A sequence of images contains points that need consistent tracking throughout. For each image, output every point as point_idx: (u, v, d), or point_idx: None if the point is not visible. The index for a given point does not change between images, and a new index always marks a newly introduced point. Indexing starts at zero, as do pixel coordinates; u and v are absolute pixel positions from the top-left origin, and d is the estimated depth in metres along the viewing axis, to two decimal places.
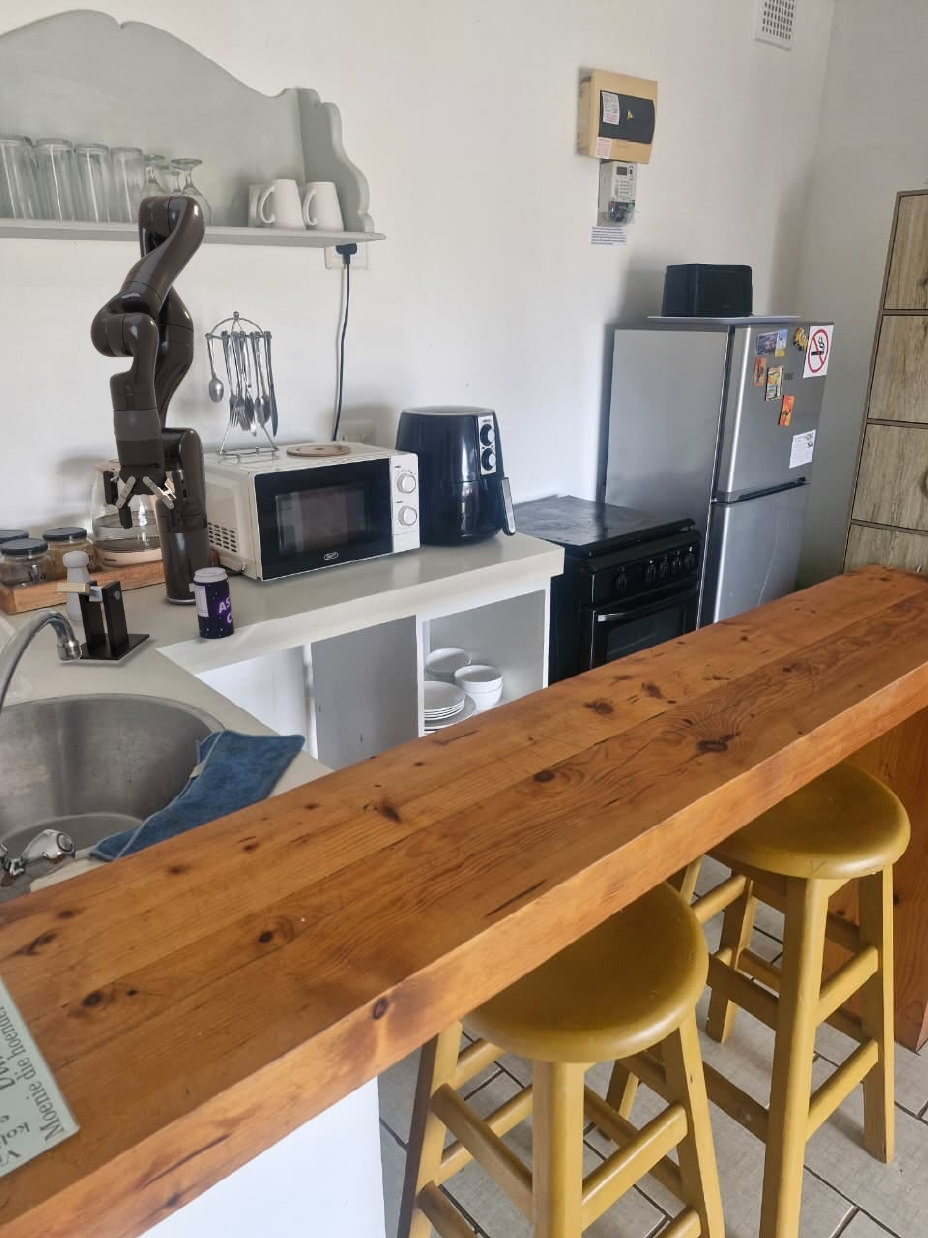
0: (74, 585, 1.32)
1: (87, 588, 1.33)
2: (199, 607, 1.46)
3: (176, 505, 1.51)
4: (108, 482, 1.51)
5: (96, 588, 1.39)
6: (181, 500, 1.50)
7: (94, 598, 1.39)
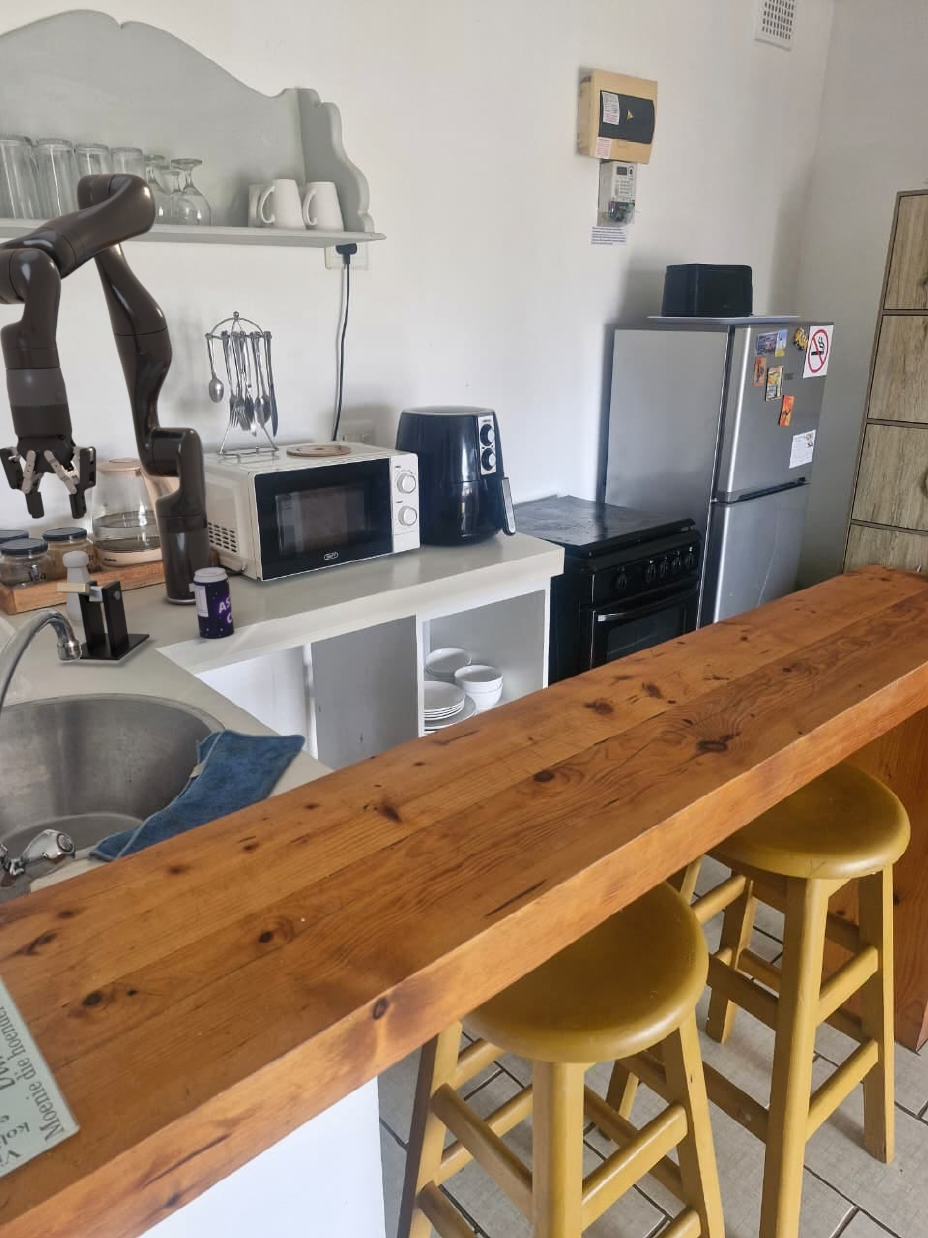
0: (74, 585, 1.32)
1: (87, 588, 1.33)
2: (199, 607, 1.46)
3: (80, 490, 1.26)
4: (7, 462, 1.25)
5: (96, 588, 1.39)
6: (85, 484, 1.25)
7: (94, 598, 1.39)
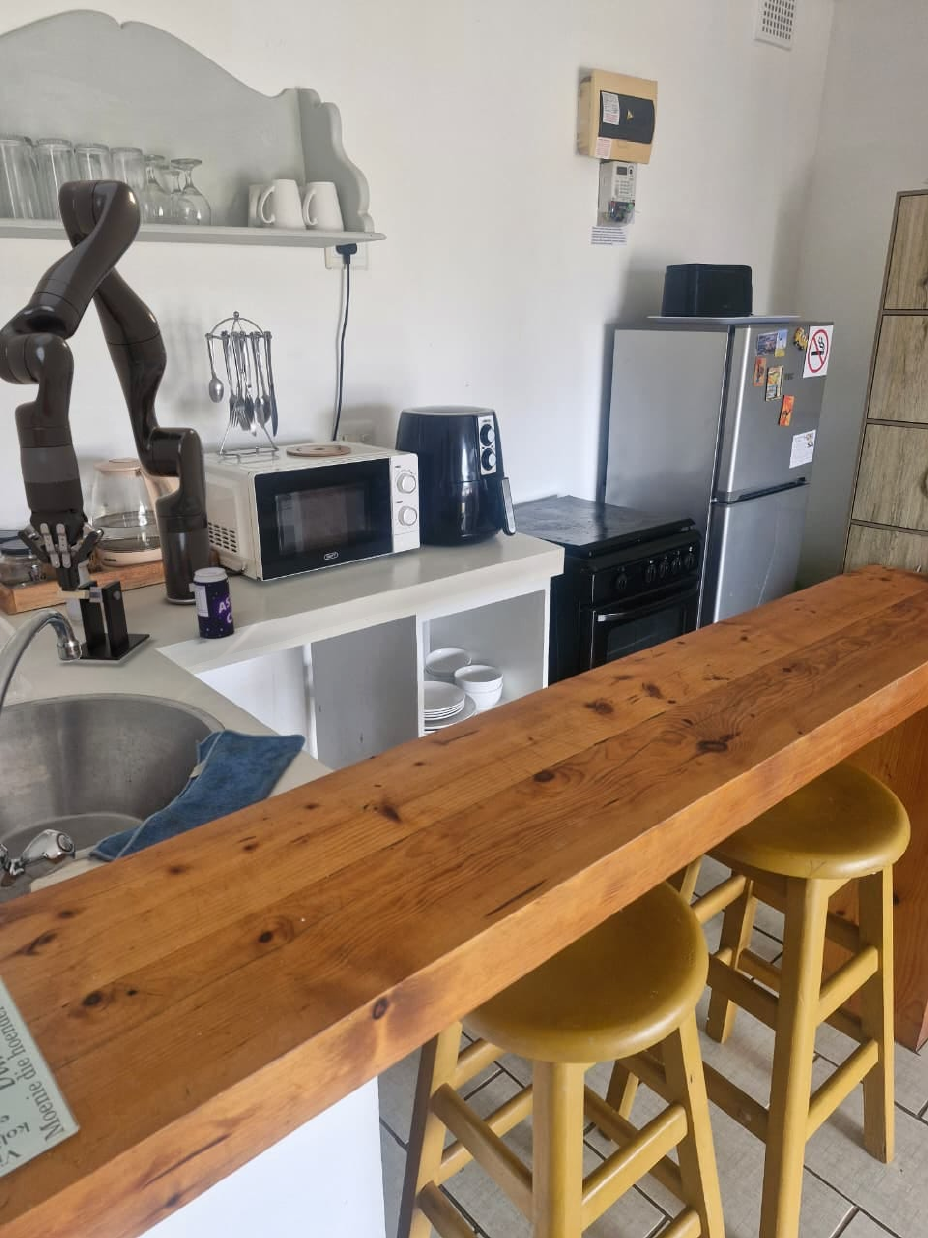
0: (74, 592, 1.32)
1: (87, 594, 1.33)
2: (199, 607, 1.46)
3: (73, 564, 1.30)
4: (29, 541, 1.29)
5: (96, 589, 1.39)
6: (79, 560, 1.29)
7: (94, 599, 1.39)
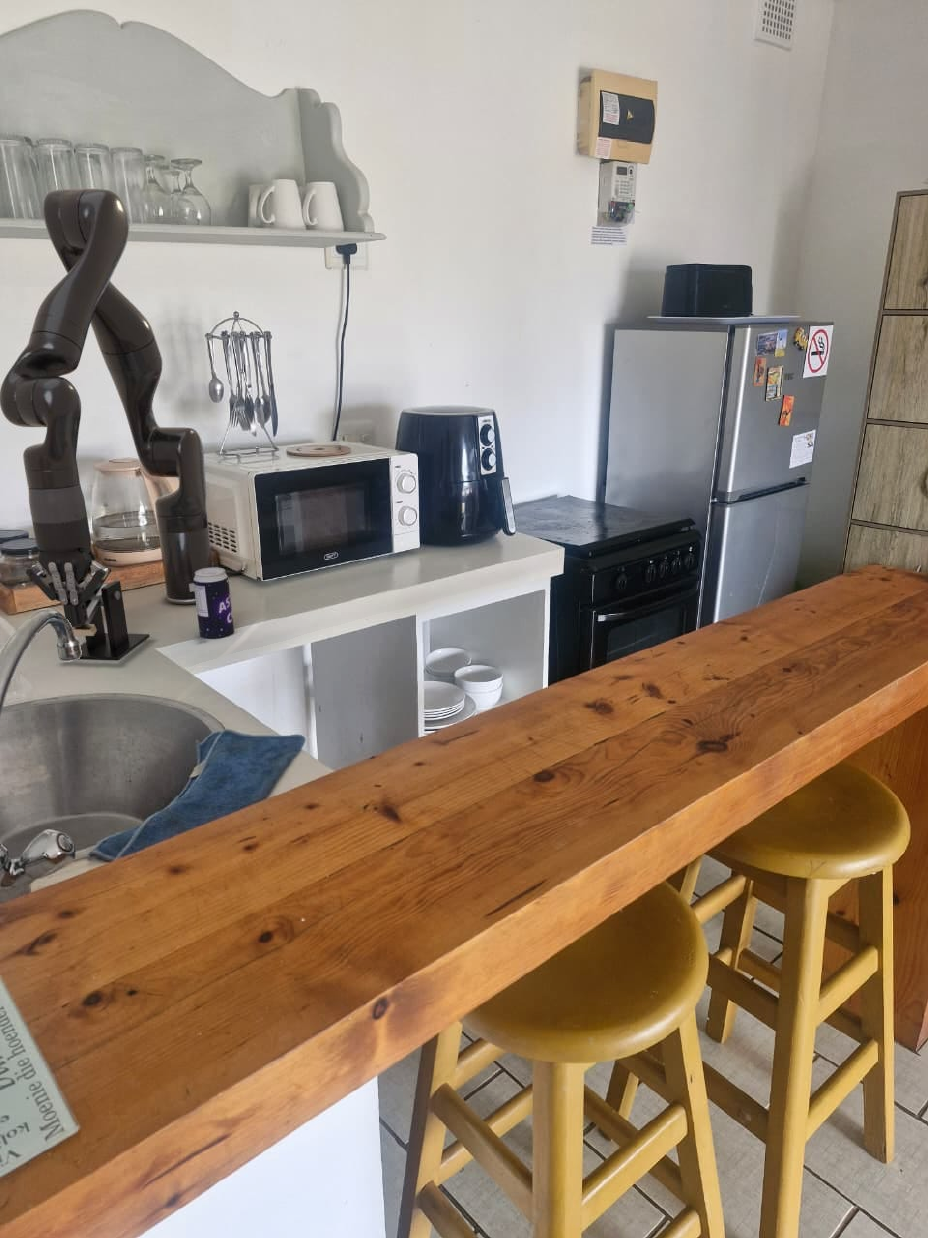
0: (81, 631, 1.34)
1: (94, 629, 1.35)
2: (199, 607, 1.46)
3: (81, 601, 1.32)
4: (37, 579, 1.31)
5: (95, 596, 1.39)
6: (87, 597, 1.31)
7: None
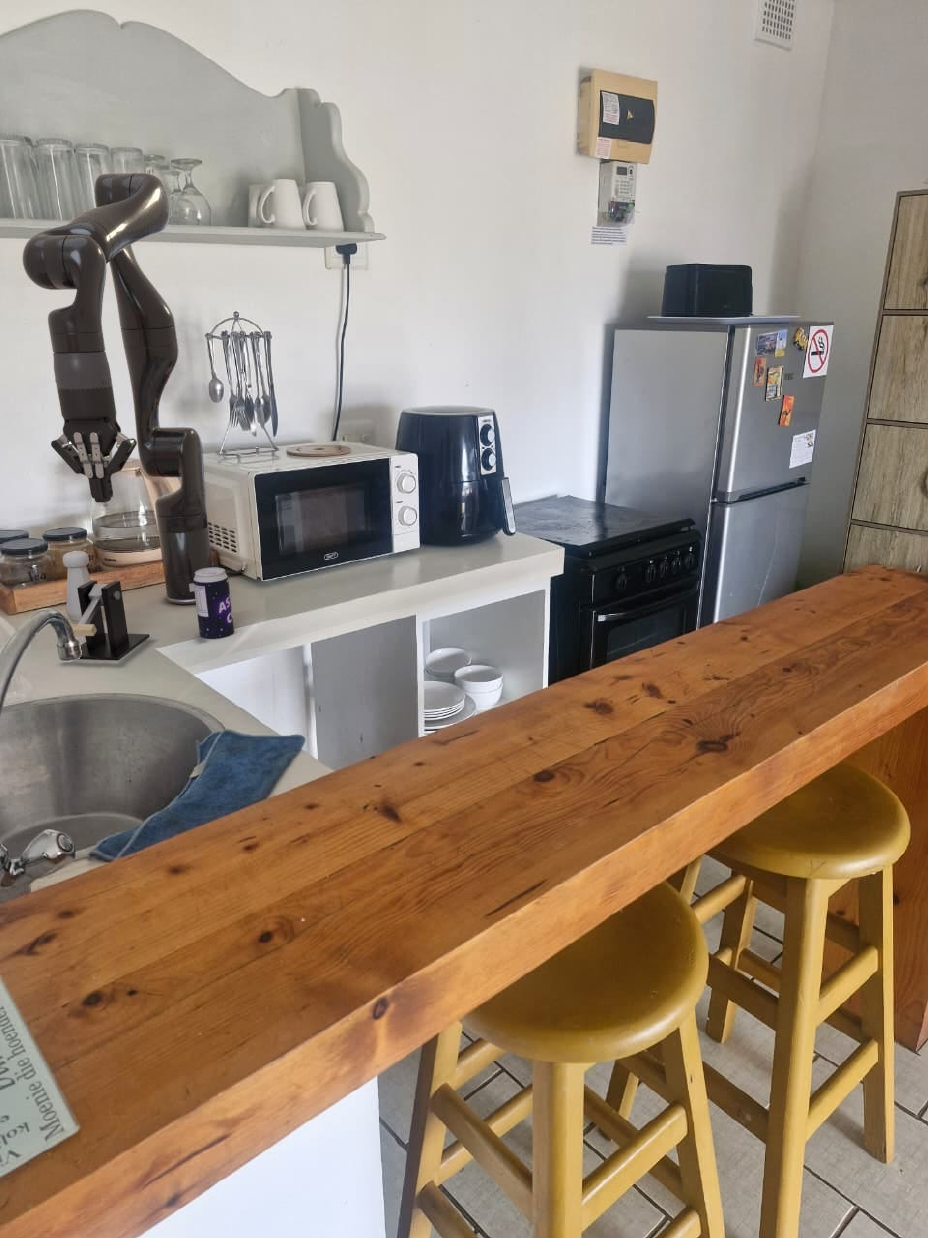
0: (81, 631, 1.34)
1: (94, 629, 1.35)
2: (199, 607, 1.46)
3: (106, 474, 1.30)
4: (62, 451, 1.29)
5: (95, 596, 1.39)
6: (112, 470, 1.29)
7: None
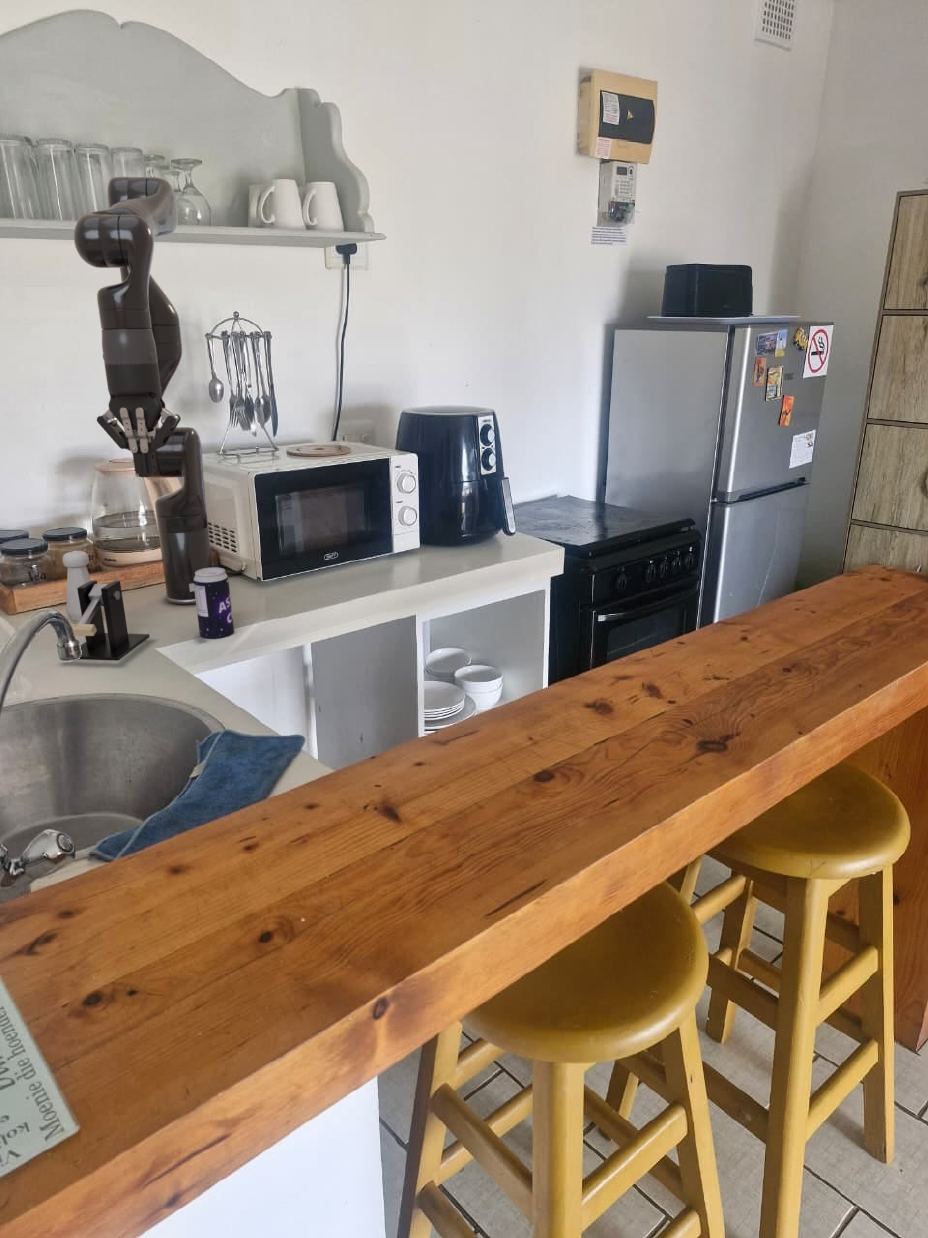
0: (81, 631, 1.34)
1: (94, 629, 1.35)
2: (199, 607, 1.46)
3: (151, 449, 1.33)
4: (108, 426, 1.32)
5: (95, 596, 1.39)
6: (157, 445, 1.32)
7: None
